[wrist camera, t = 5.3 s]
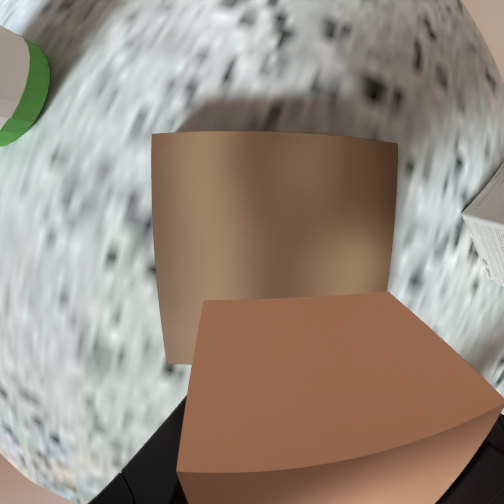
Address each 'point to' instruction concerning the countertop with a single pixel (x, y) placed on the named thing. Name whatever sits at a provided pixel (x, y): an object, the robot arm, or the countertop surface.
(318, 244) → the walnut block
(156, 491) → the robot arm
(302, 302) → the terracotta cube
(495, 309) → the countertop surface
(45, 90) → the wine bottle
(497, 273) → the supplement box
